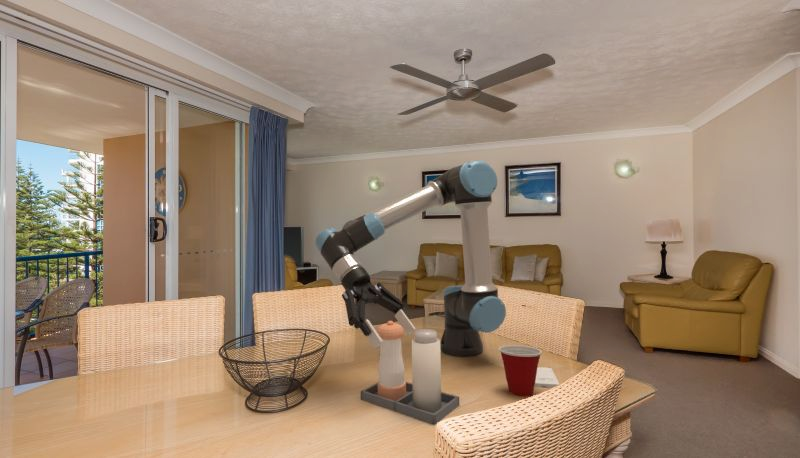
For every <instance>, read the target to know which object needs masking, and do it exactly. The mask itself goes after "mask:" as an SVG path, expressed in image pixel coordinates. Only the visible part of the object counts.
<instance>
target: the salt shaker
mask: <svg viewBox="0 0 800 458" xmlns="http://www.w3.org/2000/svg"><path fill="white" fill-rule="evenodd" d="M440 342H441V339H440V338H439V337H438V332H437V330H435V329H429V328H423V329H422V328H420V329H417V330H414V338H412V339H411V374H412V375H411V376H412V378H411V379H412V380H411V383H412V390H413V407H415V408H418V409H421V410H424V411H427V412H430V413H433V414H434V413H435V412H437V411H438V410H439V409H441V408H442V405H441V392H442V366H441V363H442V361H441V359H442V358H441V356H442V355H441V354H442V351H441V350H440Z"/></svg>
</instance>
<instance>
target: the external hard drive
mask: <svg viewBox="0 0 800 458" xmlns="http://www.w3.org/2000/svg"><path fill="white" fill-rule="evenodd" d="M559 384H560V382H559V379H558V378H557V376H556V374H555V372H554V371H553V369H552V368H551V367H544V366H543V367H542V366H541V367H540V366H538V367H537V374H536V381H535V384H534V388H535V387H537V388H552V387H555V386H557V385H559Z"/></svg>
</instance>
